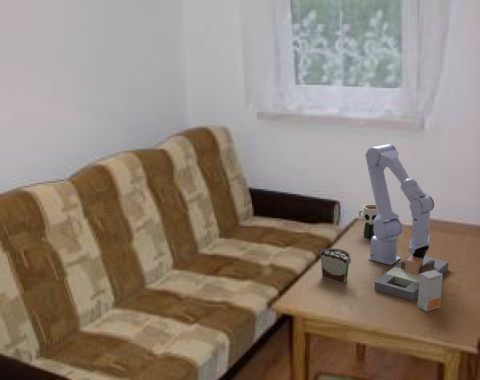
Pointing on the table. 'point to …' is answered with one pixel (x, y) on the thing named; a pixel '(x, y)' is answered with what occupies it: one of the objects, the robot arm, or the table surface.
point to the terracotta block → (413, 265)
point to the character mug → (369, 218)
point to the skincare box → (430, 290)
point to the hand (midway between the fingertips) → (418, 264)
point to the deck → (406, 280)
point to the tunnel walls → (424, 268)
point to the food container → (335, 264)
